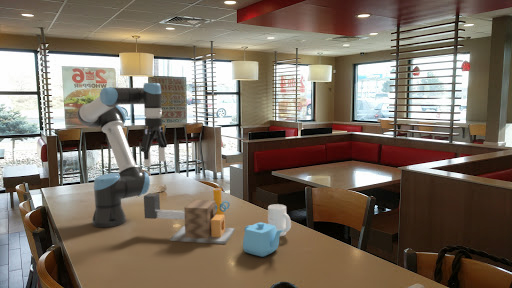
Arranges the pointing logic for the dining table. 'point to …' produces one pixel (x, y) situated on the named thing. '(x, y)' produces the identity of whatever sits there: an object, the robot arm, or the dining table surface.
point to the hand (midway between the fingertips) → (155, 163)
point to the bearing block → (200, 224)
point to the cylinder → (219, 202)
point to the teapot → (261, 239)
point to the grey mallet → (154, 210)
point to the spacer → (218, 225)
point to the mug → (279, 218)
